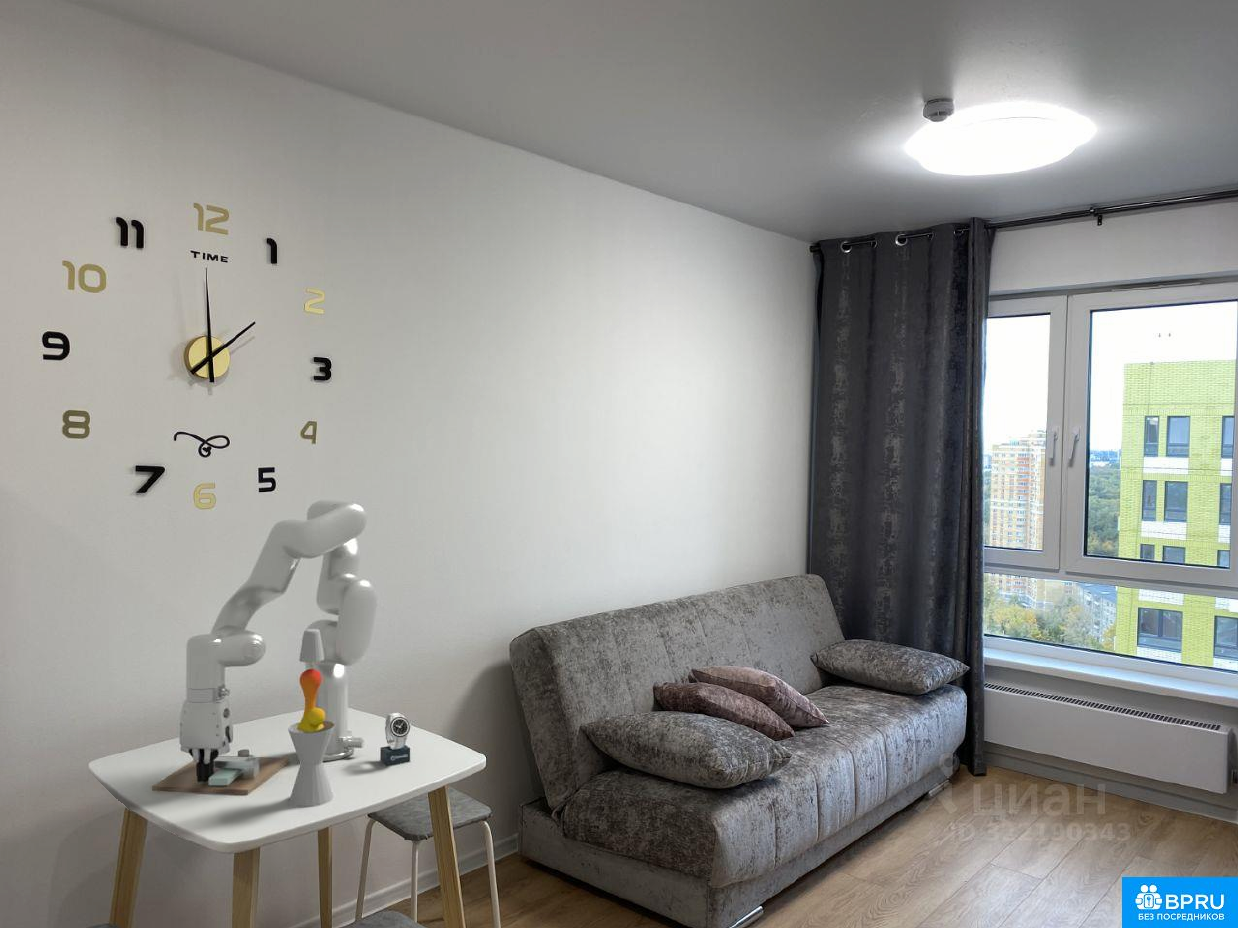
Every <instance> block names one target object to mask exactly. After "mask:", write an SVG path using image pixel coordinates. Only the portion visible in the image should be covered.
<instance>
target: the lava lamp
mask: <svg viewBox="0 0 1238 928" xmlns="http://www.w3.org/2000/svg"><path fill="white" fill-rule="evenodd" d="M306 629H307V628H306ZM306 629H305V630H304V631H303V633H302V634H303V635H302V638H303V640H302V639H301V646H300V647H301V648H300V653H299V659H298V661H299V662H301V663H305V662H318V661H322V660H324V654H323V648H322V642H321V636H320V631H319V630H318V629H307V630H306ZM321 680H322V678H321V674H320V673H319V672H318V671H317V670H315V669H308V670H306V669H305V670H304V671H303V672H302V673H301V674H300V676H299V685H300V687H301V689H302V692H303V696H304V710H303V716H302V717H301V720H300V722H297V723H293V724H291V725H290V726H289V727H288V730H287V731H288V733H289V736H290V739H291V741H292V744H293V746H294V750H295V752H296V755H297V757H298V760H299V763H300V764H299V768H298V771H297V774H296V778H295V781H294V785H293V787H292V791H291V794H290V797H289V800H288V802H289V804H290V805H292V806H295V807H298V808H299V807H301V808H303V807H305V808H307V807H308V808H309V807H317V806H321V805H324V804H326V803H329V802H331V801H332V800H333V799H334V794H333V791H332V788H331V785H330V781H329V779H328V775H327V772H326V769H325V766H324V763H323V762H324V761H323V758H324V755H325V752H326V749H327V746H328V743H329V740H330V737H331V734H332V732H333V728H334V723H332V722H329V721H324V720H325V712H324V711H323V710H322V709H320V708H315V702H316V696H317V692H318V689H319V686H320V684H321ZM332 798H333V799H332ZM331 799H332V800H331ZM330 800H331V801H330ZM328 801H329V802H328Z"/></svg>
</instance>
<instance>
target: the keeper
mask: <svg viewBox="0 0 1238 928" xmlns="http://www.w3.org/2000/svg"><path fill="white" fill-rule="evenodd" d="M218 756H219V757H217V758H216V759H215V760H214V768H236V769H243V778H247V779H254V778H256V777H257V776H258V775H259V758H258V757H259V756H254V757H228V756H229V755H218Z"/></svg>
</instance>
